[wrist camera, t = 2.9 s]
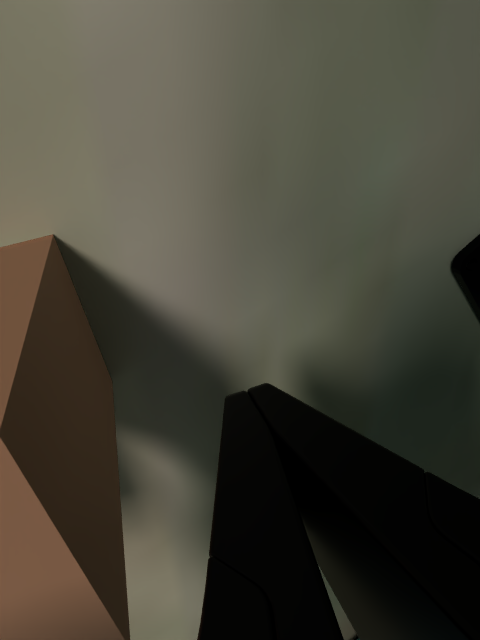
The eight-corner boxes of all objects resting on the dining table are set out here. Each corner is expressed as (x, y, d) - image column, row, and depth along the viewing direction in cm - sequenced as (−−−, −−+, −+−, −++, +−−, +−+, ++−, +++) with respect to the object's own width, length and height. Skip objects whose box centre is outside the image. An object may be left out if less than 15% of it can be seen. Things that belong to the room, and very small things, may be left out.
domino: (53, 234, 12) (-2, 434, 5) (112, 381, 14) (131, 649, 7) (-10, 249, 11) (-161, 485, 5) (62, 397, 14) (32, 690, 7)
